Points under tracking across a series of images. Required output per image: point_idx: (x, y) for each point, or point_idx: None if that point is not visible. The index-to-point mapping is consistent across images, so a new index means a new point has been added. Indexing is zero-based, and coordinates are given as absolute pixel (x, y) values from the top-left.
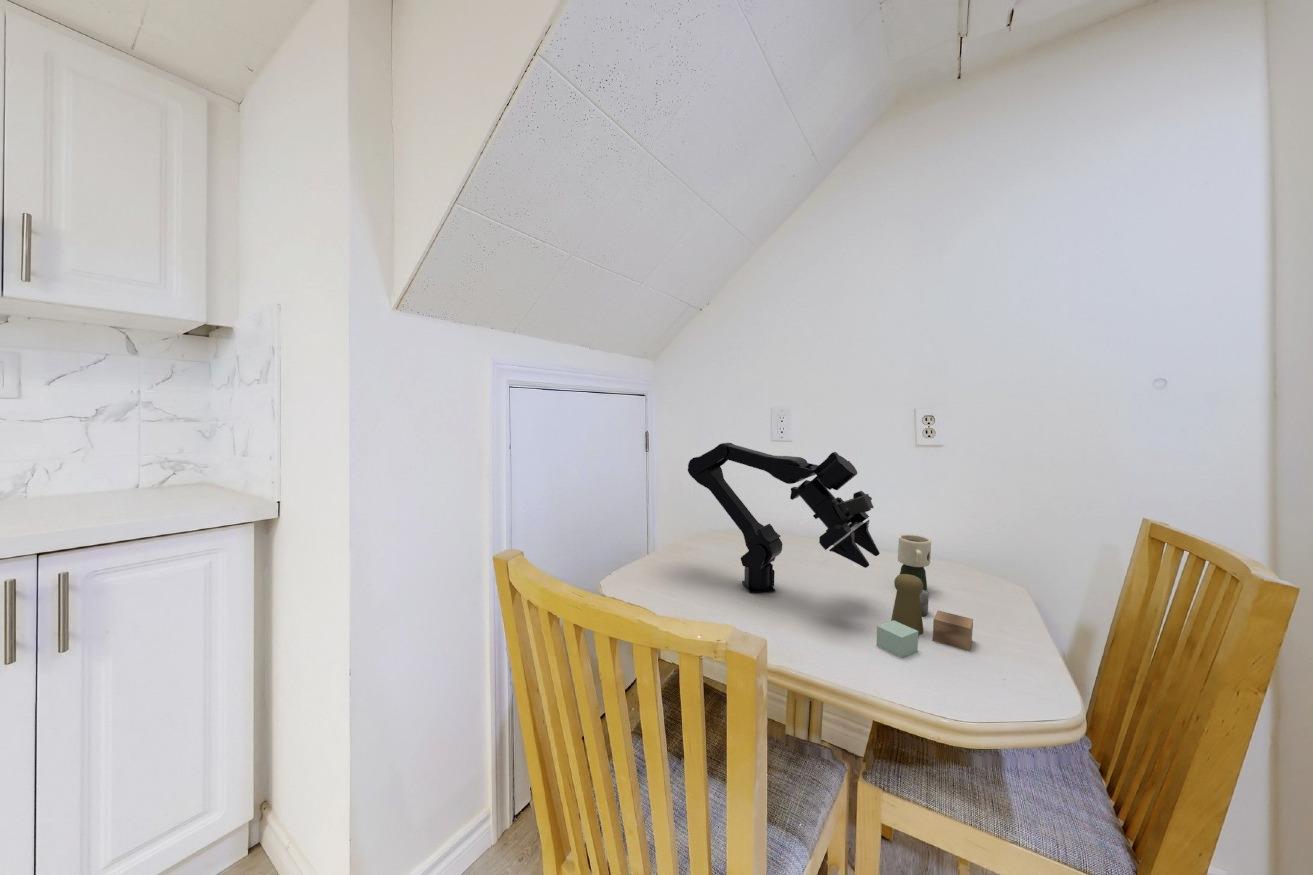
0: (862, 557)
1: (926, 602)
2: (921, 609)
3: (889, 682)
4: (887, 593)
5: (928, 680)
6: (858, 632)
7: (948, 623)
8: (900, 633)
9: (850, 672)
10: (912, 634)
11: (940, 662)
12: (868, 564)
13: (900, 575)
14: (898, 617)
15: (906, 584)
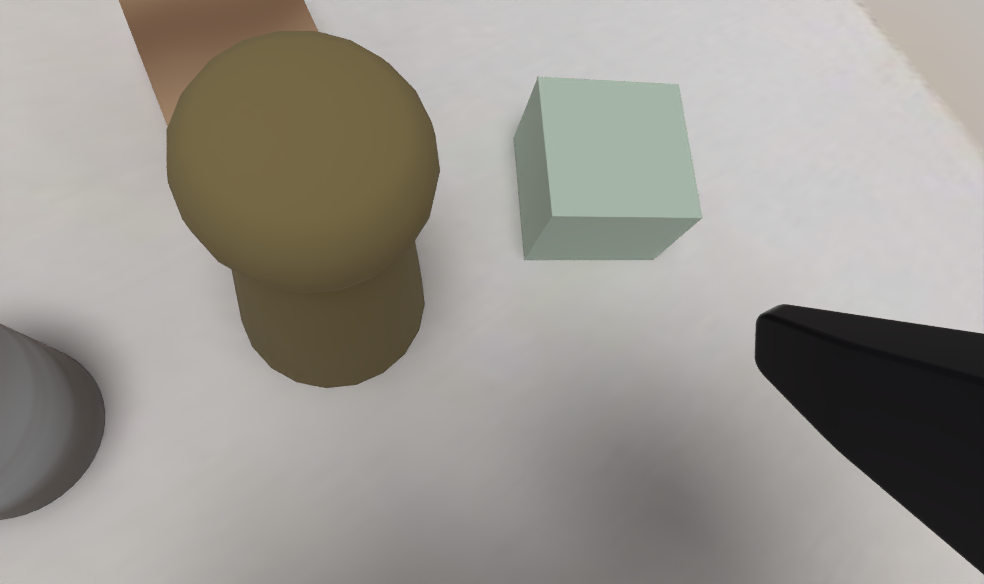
0: (939, 337)
1: None
2: (43, 344)
3: (809, 77)
4: None
5: (668, 14)
6: (637, 391)
7: (309, 16)
8: (648, 111)
9: (902, 181)
10: (588, 83)
11: (509, 44)
12: (793, 305)
13: (341, 192)
14: (419, 275)
15: (422, 107)
